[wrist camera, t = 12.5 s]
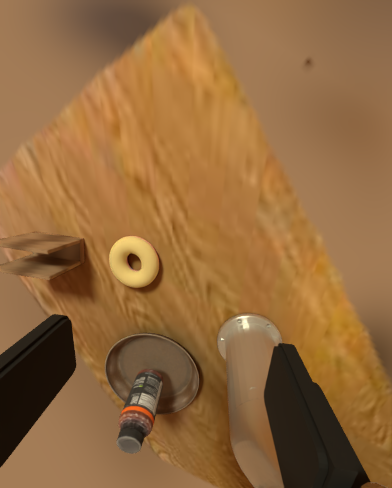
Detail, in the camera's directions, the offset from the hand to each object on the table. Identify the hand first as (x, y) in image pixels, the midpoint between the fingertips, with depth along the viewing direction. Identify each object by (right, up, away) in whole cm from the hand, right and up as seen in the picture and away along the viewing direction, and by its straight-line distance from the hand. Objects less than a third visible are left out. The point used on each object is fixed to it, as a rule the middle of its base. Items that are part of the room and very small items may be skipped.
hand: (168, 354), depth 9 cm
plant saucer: (-8, -22, +36) cm, 43 cm away
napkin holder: (-26, +4, +31) cm, 40 cm away
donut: (-10, +2, +30) cm, 32 cm away
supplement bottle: (-8, -23, +33) cm, 41 cm away
